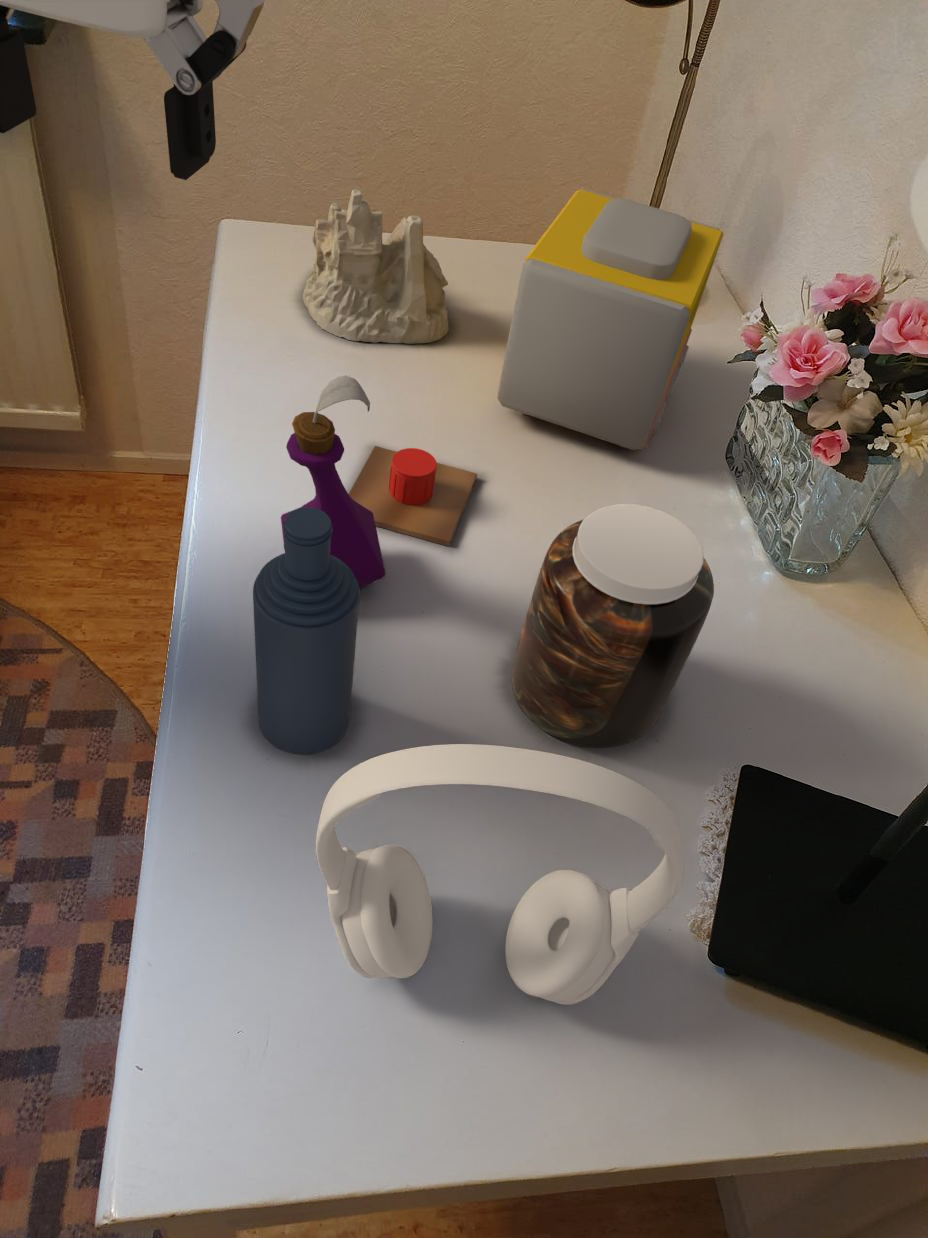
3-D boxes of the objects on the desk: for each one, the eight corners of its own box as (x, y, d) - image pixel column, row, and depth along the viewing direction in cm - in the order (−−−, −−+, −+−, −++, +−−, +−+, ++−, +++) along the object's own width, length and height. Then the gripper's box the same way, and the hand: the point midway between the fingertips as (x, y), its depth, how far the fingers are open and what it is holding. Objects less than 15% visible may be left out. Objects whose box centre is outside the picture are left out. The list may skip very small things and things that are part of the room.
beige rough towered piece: (450, 349, 100) (463, 207, 90) (296, 339, 99) (292, 193, 88) (446, 286, 111) (457, 154, 101) (308, 276, 110) (305, 140, 100)
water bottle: (243, 739, 64) (230, 542, 50) (278, 671, 68) (276, 473, 55) (331, 765, 63) (343, 574, 50) (361, 695, 68) (379, 502, 54)
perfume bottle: (288, 610, 72) (287, 419, 59) (280, 544, 77) (278, 353, 64) (383, 604, 74) (403, 418, 61) (370, 540, 79) (386, 354, 66)
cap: (441, 490, 83) (445, 461, 81) (414, 511, 81) (418, 482, 79) (407, 471, 85) (410, 442, 82) (380, 490, 82) (382, 461, 80)
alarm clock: (640, 473, 90) (702, 299, 77) (489, 422, 93) (523, 244, 79) (678, 376, 103) (737, 213, 90) (545, 333, 106) (582, 168, 92)
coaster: (338, 515, 80) (338, 510, 80) (374, 450, 87) (374, 445, 87) (449, 546, 80) (449, 541, 79) (476, 478, 86) (477, 473, 86)
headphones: (324, 874, 58) (336, 674, 43) (612, 915, 59) (720, 732, 44) (302, 989, 53) (306, 807, 38) (616, 1031, 54) (738, 869, 39)
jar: (629, 777, 66) (697, 639, 55) (485, 703, 69) (522, 557, 58) (681, 671, 74) (750, 531, 63) (550, 608, 76) (594, 463, 65)
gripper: (291, -287, 37) (290, 160, 49) (-110, -374, 38) (-11, 84, 50) (208, -281, 31) (232, 216, 44) (-252, -382, 33) (-102, 130, 45)
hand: (102, 146), depth 47 cm, fingers open, 9 cm apart
